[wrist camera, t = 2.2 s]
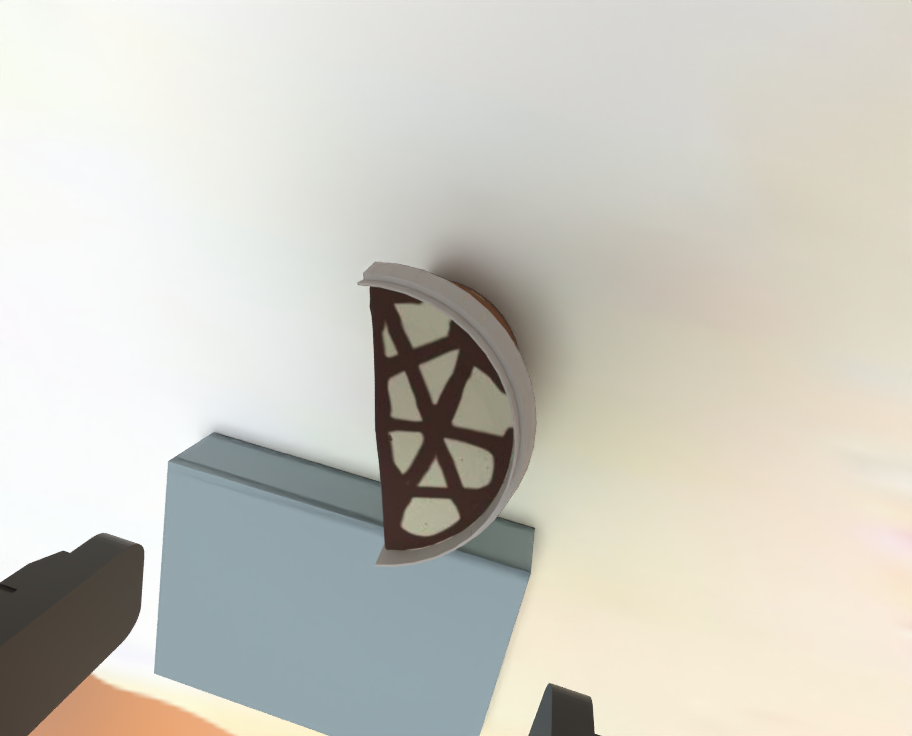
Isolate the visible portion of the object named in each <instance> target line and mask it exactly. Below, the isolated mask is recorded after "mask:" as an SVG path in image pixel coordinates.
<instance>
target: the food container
mask: <svg viewBox="0 0 912 736" xmlns="http://www.w3.org/2000/svg"><path fill="white" fill-rule="evenodd" d="M363 277H364V280H362V281H360V282H358V283H357V285H362V286H370V310H371V315H372V325H373V344H374V371H375V432H376V441H377V450H378V458H379V468H380V479H381V491H382V508H383V525H384V542H385V543H384V546H383V548H382V550H381V552H380V555H379V557H378V559H377V561H376V564H375V566H381V567H398V566H406V565H415V564H419V563H423V562H426V561H430V560H434V559H437V558H439V557H441V556H443V555H445V554H448V553H450V552H452V551H454V550H456V549H457V548H459V547H461V546H463V545H464V544H466V543H467V542H469V541H470V540H472V539H473V538H475V537H476V536H478V535H479V534H480V533H481V532H482V531H483V530H484V529H486V528H487V527H488V526H489V525H490V524H491V523H492V522H493V521H494V520H495V519H496V517H497V516H498V515H499V513H500V512H501V511H502V509H503V508H504V507H505V505H506V504H507V503H508V501H509V500H510V498H511V497H512V495H513V494H514V493H515V491H516V490H517V488H518V486H519V484H520V482H521V480H522V478H523V476H524V474H525V472H526V470H527V468H528V465H529V462H530V458H531V455H532V451H533V448H534V441H535V432H536V409H535V398H534V394H533V389H532V385H531V381H530V376H529V374H528V371H527V369H526V366H525V364H524V362H523V359H522V357H521V354H520V352H519V351H518V347H517V343H516V340H515V337H514V335H513V333H512V330H511V328H510V326H509V325H508V323H507V322H506V320H505V318H504V317H503V315H502V314H501V313H500V312H499V311H498V310H497V309H496V307H495V306H494V305H493V304H492V303H490V302H489V301H488V300H487V299H486V298H484V297H483V296H482V295H480V294H479V293H477V292H475V291H474V290H472V289H470V288H469V287H466V286H464V285H461V284H459V283H456V282H453V281H448V280H446V279H444V278H441V277H439V276H436V275H434V274H432V273H429V272H427V271H424V270H421V269H417V268H413V267H409V266H405V265H401V264H395V263H383V262H375V263H373V264H372V265H371V266H370V267H369V268H368V269H367V270H366V271H365V272H364V273H363Z"/></svg>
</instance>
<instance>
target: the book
mask: <svg viewBox="0 0 912 736" xmlns="http://www.w3.org/2000/svg"><path fill="white" fill-rule="evenodd" d="M534 529H535V528H532V527H528V526H525V525H522V524H518V523H515V522H512V521H508V520H505V519H502V518H498V517H496V519H495V520H494V521H493V522H492V523H491V524H490V525H489V526H488V527H487V528H486V529H484V530H483V531H482V532H481V533H480V534H479V535H478V536H476V537H475V538H473V539H472V540H470V541H469V542H467V543H466V544H464V545H463V546H461V547H459V548H457V549H456V550H454V551H452V552H450V553H448V554H445V555H443V556H441V557H439V558H437V559H434V560H430V561H426V562H423V563H419V564H415V565H406V566H398V567H381V566H375V564H376V561H377V559H378V557H379V555H380V552H381V550H382V548H383V546H384V543H385V542H384V525H383V508H382V491H381V482H378V481H374V480H371V479H368V478H364V477H361V476H358V475H354V474H351V473H348V472H344V471H341V470H338V469H334V468H331V467H328V466H324V465H321V464H318V463H314V462H311V461H307V460H304V459H301V458H297V457H294V456H291V455H287V454H284V453H281V452H277V451H274V450H271V449H267V448H264V447H261V446H257V445H254V444H251V443H247V442H244V441H241V440H237V439H234V438H230V437H227V436H224V435H220V434H217V433H214V432H213V433H212V434H210V435H209V436H207V437H206V438H204V439H202V440H201V441H199V442H198V443H196V444H195V445H193V446H192V447H190V448H188V449H187V450H185V451H184V452H182V453H181V454H179V455H177V456H176V457H174V458H173V459H171V460H170V461H168V473H167V488H166V503H165V518H164V533H163V548H162V563H161V578H160V593H159V608H158V623H157V638H156V653H155V668H154V673H155V674H157V675H160V676H163V677H166V678H169V679H171V680H174V681H177V682H180V683H183V684H185V685H188V686H191V687H194V688H197V689H200V690H202V691H205V692H208V693H211V694H214V695H216V696H219V697H222V698H225V699H228V700H230V701H233V702H236V703H239V704H242V705H245V706H247V707H250V708H253V709H256V710H259V711H261V712H264V713H267V714H270V715H273V716H275V717H278V718H281V719H284V720H287V721H290V722H292V723H295V724H298V725H301V726H304V727H306V728H309V729H312V730H315V731H318V732H320V733H323V734H326V735H329V736H479V735H480V732H481V729H482V726H483V723H484V719H485V716H486V713H487V710H488V707H489V704H490V700H491V697H492V694H493V691H494V688H495V685H496V681H497V678H498V675H499V672H500V669H501V666H502V662H503V659H504V656H505V653H506V650H507V647H508V643H509V640H510V637H511V634H512V631H513V628H514V624H515V621H516V618H517V615H518V612H519V608H520V605H521V602H522V599H523V596H524V593H525V589H526V586H527V583H528V580H529V577H530V574H531V564H532V552H533V541H534Z"/></svg>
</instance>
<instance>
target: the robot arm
mask: <svg viewBox="0 0 912 736" xmlns="http://www.w3.org/2000/svg"><path fill="white" fill-rule="evenodd" d="M143 567H144V549H143V547H142V546H141V545H140V544H137V543H134V542H131V541H128V540H125V539H122V538H119V537H116V536H113V535H110V534H107V533H101V534H98V535H96V536H94V537H92V538H91V539H90V540H88V541H87V542H85V543H84V544H82V545H81V546H80V547H78V548H77V549H75V550H74V551H72V552H71V553H68V552H66V551H61V552H58V553H56V554H53V555H50V556H48V557H45V558H42V559H40V560H37V561H35V562H32V563H29V564H28V565H26V566H25V567H23V568H22V569H20V570H18V571H17V572H15V573H14V574H12V575H11V576H9V577H8V578H6V579H5V580H3V581H2V582H0V736H28V735H29V734H30V733H31V732H32V731H33V730H34V729H35V728H36V727H37V726H38V725H39V724H40V722H42V721H43V720H44V719H45V718H46V717H47V716H48V715H49V714H50V713H51V712H52V711H53V710H54V709H55V708H56V707H57V706H58V705H59V704H60V703H61V702H62V701H63V700H64V699H65V698H66V697H67V696H68V695H69V694H70V693H71V692H72V691H73V690H74V689H75V688H76V687H77V686H78V685H79V684H80V683H81V682H82V681H83V680H85V679H86V678H87V677H88V676H89V675H90V674H91V673H92V672H93V671H94V670H95V669H96V668H97V667H98V666H99V665H100V664H101V663H102V662H103V661H104V660H105V659H106V658H107V657H108V656H109V655H110V654H111V653H112V652H113V651H114V650H115V649H116V648H117V647H118V646H119V645H120V644H121V643H122V642H123V641H124V640H125V639H126V637H127V636H128V635H129V633H130V632H131V630H132V629H133V627H134V625H135V623H136V621H137V619H138V616H139V613H140V609H141V597H142V582H143ZM529 736H600V735H597V734H595V733H594V718H593V704H592V700H591V697H590V696H587V695H584V694H581V693H578V692H575V691H572V690H569V689H566V688H563V687H560V686H557V685H554V684H551V683H549V684H548V685H547V687H546V689H545V692H544V695H543V697H542V700H541V703H540V706H539V708H538V711H537V714H536V717H535V719H534V722H533V725H532V728H531V730H530V733H529Z"/></svg>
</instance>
